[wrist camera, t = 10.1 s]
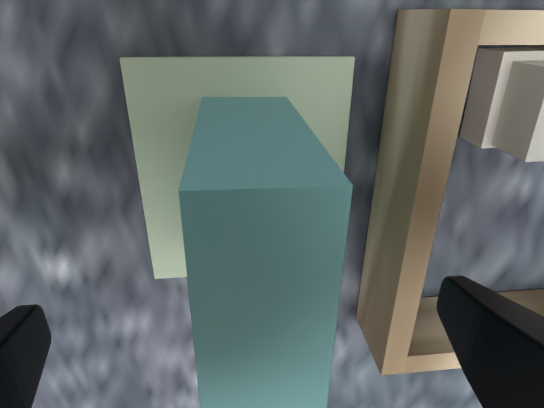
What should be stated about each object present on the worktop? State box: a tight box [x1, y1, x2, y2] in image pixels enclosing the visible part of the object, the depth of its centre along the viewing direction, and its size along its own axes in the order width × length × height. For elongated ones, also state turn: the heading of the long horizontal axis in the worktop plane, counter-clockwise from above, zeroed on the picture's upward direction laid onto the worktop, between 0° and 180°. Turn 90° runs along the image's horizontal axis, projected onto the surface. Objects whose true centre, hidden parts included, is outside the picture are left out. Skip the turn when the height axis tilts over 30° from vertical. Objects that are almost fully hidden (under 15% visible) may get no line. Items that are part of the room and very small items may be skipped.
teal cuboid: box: [178, 97, 353, 408], centre depth 12 cm, size 3×6×8 cm, turn 179°
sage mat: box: [119, 56, 355, 279], centre depth 15 cm, size 8×9×1 cm
